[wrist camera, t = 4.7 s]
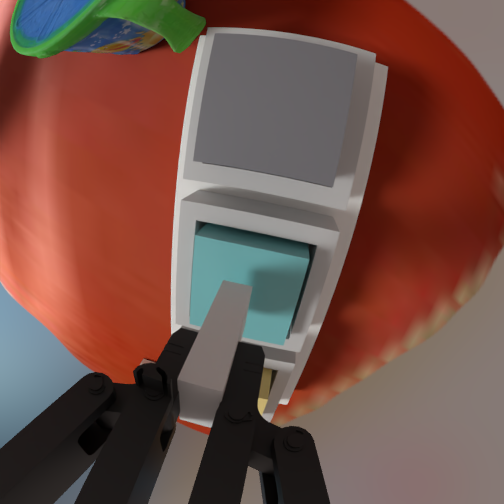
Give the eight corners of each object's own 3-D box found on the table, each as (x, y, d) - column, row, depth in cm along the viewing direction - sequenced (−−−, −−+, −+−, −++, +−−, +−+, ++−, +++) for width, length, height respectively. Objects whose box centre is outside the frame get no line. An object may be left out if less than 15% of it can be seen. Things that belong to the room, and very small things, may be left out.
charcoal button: (217, 154, 15) (192, 161, 11) (234, 56, 12) (214, 33, 9) (323, 175, 14) (333, 187, 11) (342, 74, 12) (357, 54, 8)
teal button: (207, 291, 20) (189, 323, 17) (215, 214, 18) (195, 235, 14) (286, 309, 20) (283, 345, 16) (306, 233, 17) (309, 259, 14)
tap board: (179, 364, 27) (162, 398, 23) (208, 44, 15) (182, 19, 11) (288, 390, 27) (284, 428, 22) (379, 73, 14) (404, 54, 10)
